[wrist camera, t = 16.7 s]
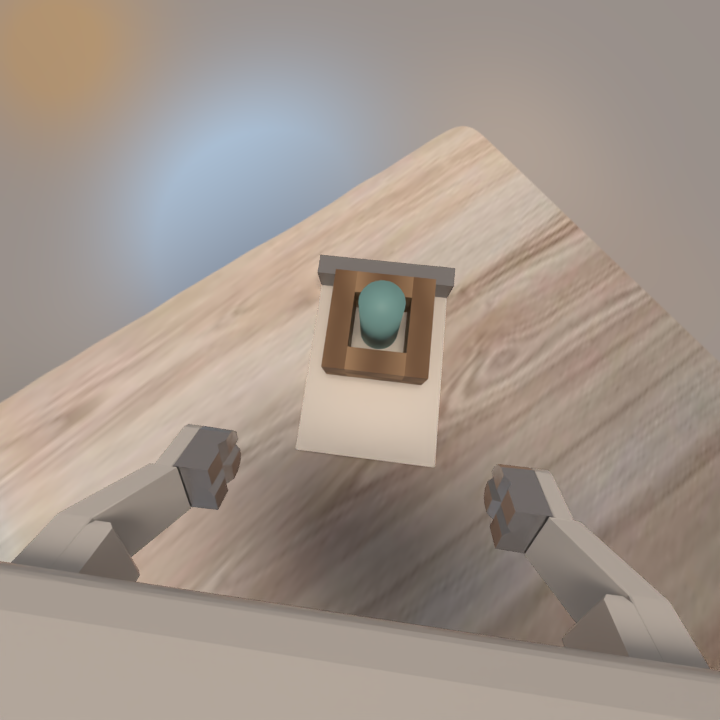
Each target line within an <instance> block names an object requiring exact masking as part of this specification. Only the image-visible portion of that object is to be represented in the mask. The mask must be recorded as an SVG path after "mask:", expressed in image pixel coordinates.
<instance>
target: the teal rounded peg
mask: <svg viewBox="0 0 720 720" xmlns="http://www.w3.org/2000/svg"><path fill="white" fill-rule="evenodd" d="M358 304H359V318H360V331H361V337H362V339H363V341H364V342H365V344H366V345H368V346H369V347H371V348H374V349H385V348H387V347H389V346H391V345H392V344H393V343H394V341H395V340H396V338H397V334H398V331H399V327H400V324H401V320H402V317H403V313H404V310H405V305H406V300H405V295H404V293H403V291H402V290H401V289H400V288H399V287H398V286H397V285H396V284H394V283H392V282H390V281H385V280H379V281H374V282H372V283H370V284H368V285H367V286H366V287H365V288H364V289H363V290H362V291H361V293H360V296H359V301H358Z"/></svg>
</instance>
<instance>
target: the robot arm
mask: <svg viewBox="0 0 720 720" xmlns="http://www.w3.org/2000/svg"><path fill="white" fill-rule="evenodd" d="M237 440H238V436H237V432H236V431H233V430H226V429H220V428H213V427H207V426H199V425H192V424H188V425H186V426H184V427H183V428H182V430H181V431H180V432H179V434H178V435H177V436H176V437H175V439H174V440H173V441H172V442H171V444H170V445H169V446H168V447H167V449H166V450H165V451H164V452H163V454H162V455H161V456H160V458H159V459H158V460H157V461H156V463H155V464H148V465H146V466H144V467H142V468H140V469H139V470H137V471H135V472H133V473H131V474H129V475H128V476H126V477H124V478H122V479H120V480H118V481H116V482H115V483H113V484H111V485H109V486H107V487H105V488H104V489H102V490H100V491H98V492H96V493H94V494H93V495H91V496H89V497H87V498H85V499H83V500H81V501H80V502H78V503H76V504H74V505H72V506H70V507H69V508H67V509H65V510H63V511H61V512H59V513H58V514H57V515H56V516H55V517H54V518H53V519H52V520H51V521H50V522H49V523H48V524H47V525H46V526H45V527H44V528H43V530H42V531H41V532H40V533H39V534H38V535H37V536H36V537H35V538H34V539H33V540H32V541H31V542H30V543H29V544H28V545H27V546H26V547H25V548H24V550H23V551H22V552H21V553H20V554H19V555H18V556H17V557H16V558H15V559H14V560H13V561H12V562H11V563H9V562H2V561H0V720H720V671H718V670H712V669H710V668H709V667H708V665H707V663H706V662H705V660H704V658H703V657H702V655H701V653H700V652H699V650H698V648H697V647H696V645H695V643H694V642H693V640H692V638H691V636H690V635H689V633H688V631H687V630H686V628H685V626H684V625H683V623H682V621H681V620H680V618H679V616H678V615H677V613H676V611H675V610H674V608H673V606H672V605H671V603H670V602H669V601H668V600H667V599H666V598H665V597H664V596H663V595H661V594H660V593H659V592H658V591H657V590H656V589H655V588H654V587H653V586H651V585H650V584H649V583H648V582H647V581H646V580H645V579H644V578H642V577H641V576H640V575H639V574H638V573H637V572H636V571H635V570H634V569H632V568H631V567H630V566H629V565H628V564H627V563H626V562H625V561H623V560H622V559H621V558H620V557H619V556H618V555H617V554H616V553H615V552H613V551H612V550H611V549H610V548H609V547H608V546H607V545H606V544H604V543H603V542H602V541H601V540H600V539H599V538H598V537H597V536H596V535H594V534H593V533H592V532H591V531H590V530H589V529H588V528H587V527H585V526H584V525H583V524H582V523H581V522H580V521H575V520H574V519H573V517H572V515H571V513H570V511H569V508H568V506H567V504H566V502H565V500H564V498H563V496H562V494H561V492H560V490H559V488H558V486H557V484H556V481H555V479H554V477H553V475H552V473H551V472H550V471H549V470H543V469H535V468H528V467H520V466H511V465H502V464H496V465H495V466H494V468H493V470H492V475H493V478H492V479H491V480H489V481H487V484H486V487H485V492H484V503H485V508H486V512H487V514H488V515H489V516H490V517H491V518H492V519H493V521H492V523H491V525H490V529H491V533H492V537H493V542H494V546H495V549H501V550H507V551H513V552H519V553H525V556H526V558H527V559H528V560H529V561H530V563H531V564H532V565H533V567H534V568H535V569H536V571H537V572H538V573H539V575H540V576H541V577H542V579H543V580H544V581H545V583H546V584H547V585H548V587H549V588H550V589H551V590H552V592H553V593H554V594H555V596H556V597H557V598H558V600H559V601H560V602H561V604H562V605H563V606H564V608H565V609H566V610H567V612H568V613H569V614H570V616H571V617H572V618H573V619H574V621H575V622H576V624H575V625H574V626H573V627H572V628H571V629H570V630H569V631H568V632H567V633H566V634H565V635H564V637H563V638H562V640H563V643H564V646H565V647H560V646H554V645H547V644H541V643H534V642H528V641H521V640H515V639H508V638H501V637H495V636H488V635H482V634H475V633H469V632H462V631H456V630H449V629H442V628H436V627H429V626H423V625H416V624H410V623H403V622H397V621H390V620H383V619H377V618H370V617H364V616H357V615H351V614H344V613H338V612H331V611H324V610H318V609H311V608H305V607H298V606H292V605H285V604H279V603H272V602H265V601H259V600H252V599H246V598H239V597H232V596H226V595H219V594H213V593H206V592H200V591H193V590H186V589H180V588H173V587H167V586H160V585H154V584H147V583H140V582H136V581H137V579H138V577H139V576H140V574H139V570H138V568H137V566H136V564H135V563H134V561H133V559H132V558H131V557H132V556H133V555H134V554H136V553H137V552H138V551H139V550H141V549H142V548H143V547H144V546H145V545H147V544H148V543H149V542H150V541H152V540H153V539H154V538H155V537H156V536H158V535H159V534H160V533H161V532H163V531H164V530H165V529H166V528H167V527H169V526H170V525H171V524H172V523H174V522H175V521H176V520H177V519H178V518H180V517H181V516H182V515H183V514H185V513H186V512H187V511H188V510H189V509H191V507H198V508H207V509H216V510H218V509H219V507H220V505H221V503H222V501H223V500H224V498H225V496H226V494H227V492H228V488H227V483H228V482H230V481H231V480H233V479H234V478H235V476H236V474H237V472H238V469H239V465H240V461H241V452H240V448H239V447H238V446H237V445H236V442H237Z"/></svg>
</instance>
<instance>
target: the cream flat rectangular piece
mask: <svg viewBox="0 0 720 720" xmlns="http://www.w3.org/2000/svg"><path fill="white" fill-rule="evenodd" d="M336 269H341V270H350V271H360V272H370V273H380V274H389V275H399V276H409V277H419V278H428V279H436V288H435V301H434V313H433V326H432V338H431V351H430V363H429V376H428V380H427V381H425V382H424V383H423V384H422V385H416V384H407V383H399V382H390V381H382V380H373V379H365V378H357V377H348V376H340V375H331V374H326V373H325V371H324V370H323V368H322V367H321V364H322V357H323V350H324V344H325V337H326V331H327V324H328V317H329V311H330V304H331V298H332V291H333V284H334V278H335V271H336ZM318 275H319V278H320V281H321V284H322V286H321V292H320V299H319V305H318V311H317V317H316V324H315V330H314V336H313V342H312V349H311V355H310V361H309V367H308V374H307V380H306V386H305V392H304V399H303V405H302V411H301V417H300V424H299V430H298V436H297V442H296V450H303V451H311V452H319V453H327V454H334V455H342V456H350V457H357V458H365V459H373V460H380V461H388V462H396V463H403V464H411V465H419V466H426V467H434V468H435V457H436V443H437V429H438V415H439V401H440V387H441V373H442V359H443V345H444V331H445V317H446V303H447V297H448V295H449V294H450V292H451V290H452V288H453V287H454V276H455V268H447V267H437V266H427V265H417V264H407V263H397V262H387V261H377V260H367V259H357V258H348V257H338V256H328V255H320V261H319V268H318ZM406 319H407V312H404V313H403V317H402V320H401V324H400V327H399V331H398V334H397V338H396V340H395V341H394V343H393V344H392V345H391V346H389V347H387V348H385V349H374V348H371V347H369V346H368V345H366V344H365V342H364V341H363V339H362V337H361V331H360V318H359V307H356V313H355V320H354V328H353V335H352V343H351V347H357V348H365V349H374V350H383V351H392V352H401V353H403V349H404V339H405V329H406Z"/></svg>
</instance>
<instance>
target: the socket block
mask: <svg viewBox="0 0 720 720" xmlns="http://www.w3.org/2000/svg"><path fill="white" fill-rule="evenodd" d="M379 280H385V281H390V282H392V283H394V284H396V285H397V286H398V287H399V288H400V289H401V290H402V291H403V293H404V295H405V300H406V305H405V310H404V312H407V319H406V329H405V339H404V349H403V353H401V352H392V351H383V350H374V349H365V348H357V347H351V343H352V335H353V328H354V320H355V313H356V307H359V304H358V301H359V296H360V293H361V291H362V290H363V289H364V288H365V287H366V286H367V285H368V284H370V283H372V282H374V281H379ZM435 288H436V279H428V278H419V277H409V276H399V275H389V274H380V273H370V272H360V271H350V270H341V269H336V271H335V278H334V284H333V291H332V298H331V304H330V311H329V317H328V324H327V331H326V337H325V344H324V350H323V357H322V364H321V367H322V368H323V370H324V371H325V373H326V374H331V375H340V376H348V377H357V378H365V379H373V380H382V381H390V382H399V383H407V384H416V385H422V384H423V383H424V382H425V381H427V380H428V376H429V363H430V351H431V338H432V326H433V313H434V301H435Z"/></svg>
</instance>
